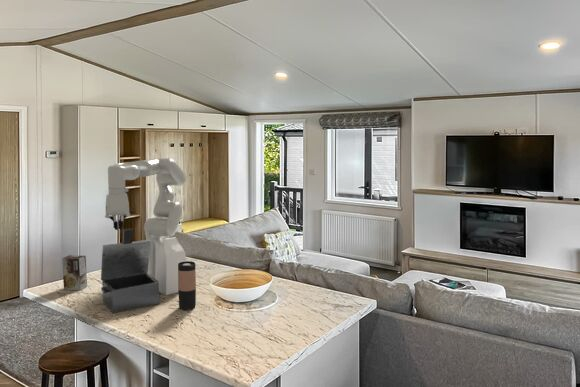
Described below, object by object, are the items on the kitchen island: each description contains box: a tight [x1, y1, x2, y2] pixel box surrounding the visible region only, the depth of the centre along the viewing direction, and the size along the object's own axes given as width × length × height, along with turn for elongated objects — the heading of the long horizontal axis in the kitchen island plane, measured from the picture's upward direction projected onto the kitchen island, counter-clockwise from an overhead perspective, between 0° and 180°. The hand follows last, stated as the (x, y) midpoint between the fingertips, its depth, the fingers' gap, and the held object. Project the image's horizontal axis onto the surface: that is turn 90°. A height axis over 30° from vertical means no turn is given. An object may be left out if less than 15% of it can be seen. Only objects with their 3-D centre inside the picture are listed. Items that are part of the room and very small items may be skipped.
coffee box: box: [61, 254, 88, 291], centre depth 223 cm, size 9×6×16 cm
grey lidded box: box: [100, 273, 160, 314], centre depth 204 cm, size 24×18×10 cm
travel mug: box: [177, 260, 197, 311], centre depth 198 cm, size 8×8×20 cm
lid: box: [100, 228, 151, 281], centre depth 206 cm, size 21×25×2 cm
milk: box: [154, 236, 187, 296], centre depth 222 cm, size 12×12×26 cm
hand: (118, 229), depth 216 cm, fingers closed
